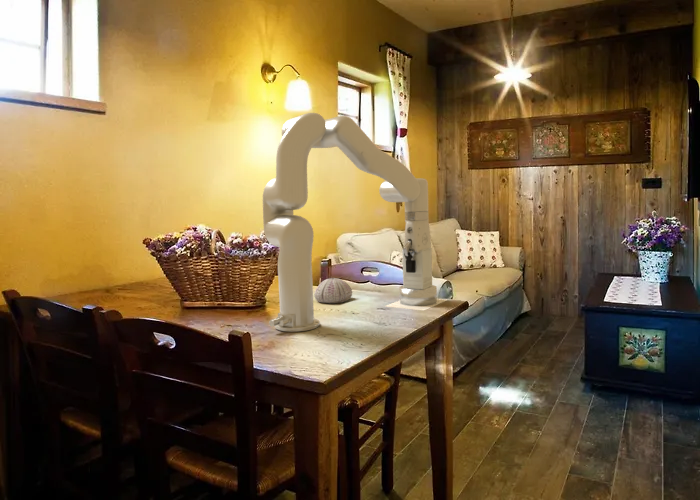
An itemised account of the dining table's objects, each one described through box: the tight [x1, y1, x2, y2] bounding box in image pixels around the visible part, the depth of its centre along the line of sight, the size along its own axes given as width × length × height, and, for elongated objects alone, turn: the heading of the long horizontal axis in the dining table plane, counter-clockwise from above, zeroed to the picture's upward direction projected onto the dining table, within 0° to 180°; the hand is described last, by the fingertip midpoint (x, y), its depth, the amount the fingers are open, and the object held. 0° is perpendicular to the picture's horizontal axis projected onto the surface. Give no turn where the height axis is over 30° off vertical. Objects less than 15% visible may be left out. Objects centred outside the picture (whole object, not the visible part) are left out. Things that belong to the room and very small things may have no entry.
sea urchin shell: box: [313, 277, 353, 304], centre depth 186 cm, size 13×14×8 cm
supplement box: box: [401, 247, 433, 289], centre depth 174 cm, size 7×7×13 cm
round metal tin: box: [399, 284, 438, 306], centre depth 175 cm, size 12×12×5 cm
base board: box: [384, 298, 448, 311], centre depth 174 cm, size 18×14×1 cm
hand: (417, 270), depth 174 cm, fingers open, 8 cm apart
